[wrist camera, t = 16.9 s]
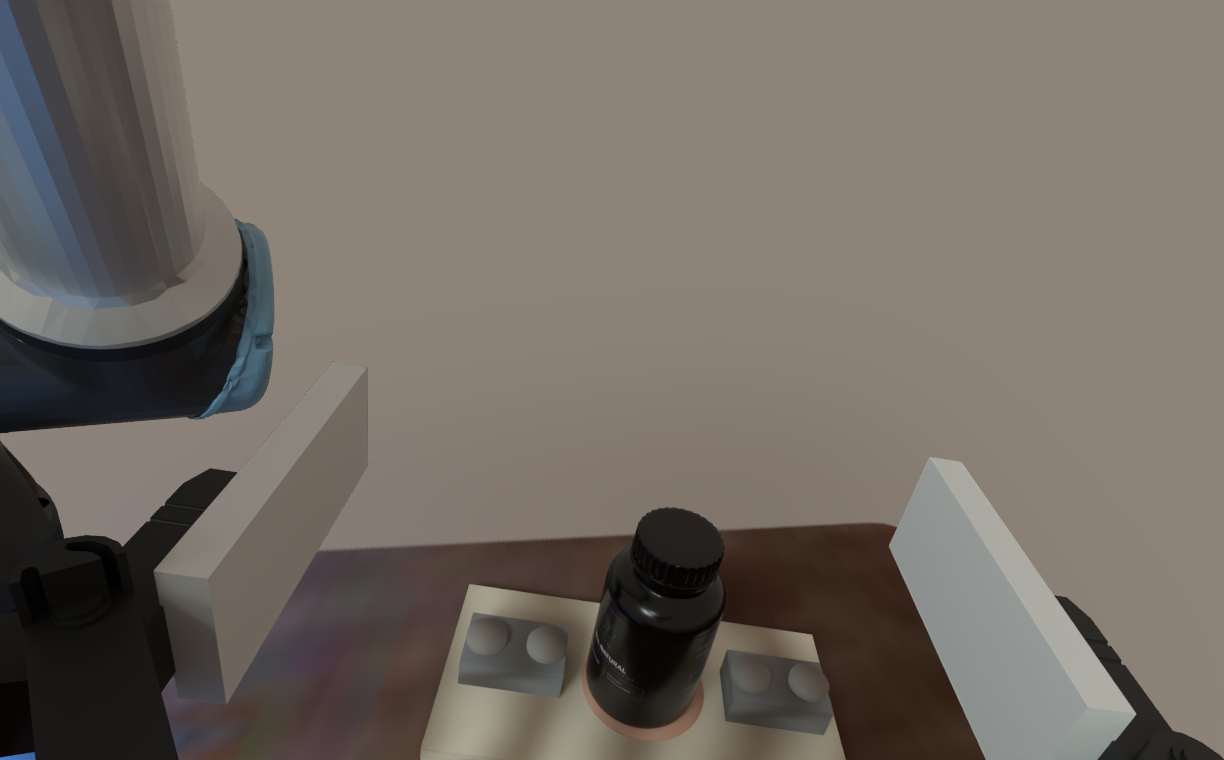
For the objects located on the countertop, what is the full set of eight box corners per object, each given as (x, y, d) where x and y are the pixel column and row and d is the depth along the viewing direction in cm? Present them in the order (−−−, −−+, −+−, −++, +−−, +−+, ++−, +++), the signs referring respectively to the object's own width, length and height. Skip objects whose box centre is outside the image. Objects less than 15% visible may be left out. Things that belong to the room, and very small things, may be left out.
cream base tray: (420, 759, 38) (422, 719, 36) (468, 594, 49) (471, 557, 47) (852, 818, 39) (873, 781, 37) (807, 644, 50) (822, 610, 48)
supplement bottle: (565, 703, 41) (596, 548, 35) (607, 623, 47) (640, 479, 41) (676, 755, 39) (727, 600, 34) (706, 664, 45) (754, 520, 40)
